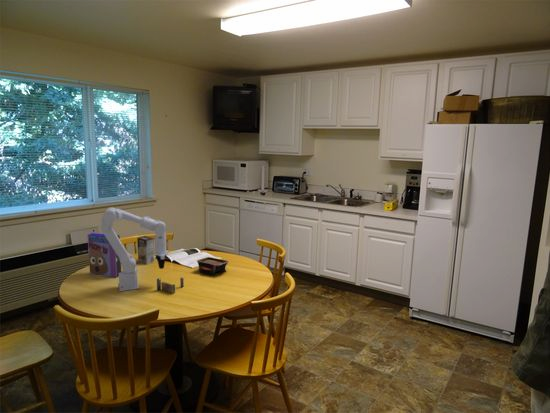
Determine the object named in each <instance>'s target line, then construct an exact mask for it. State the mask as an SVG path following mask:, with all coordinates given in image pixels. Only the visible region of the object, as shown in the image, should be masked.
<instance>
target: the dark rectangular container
mask: <svg viewBox="0 0 550 413" xmlns="http://www.w3.org/2000/svg"><path fill="white" fill-rule="evenodd" d="M196 262H197V264H198V265H197V266H198V273H199V274H202V275H209V276H212V277H213V276H215V274H216V273H217V272H227V270H226V267H227V265H228V263H229V260H227V259H221V258H216V257H210V256H205V257H202V258H199V259H197V260H196Z"/></svg>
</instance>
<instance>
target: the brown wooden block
mask: <svg viewBox="0 0 550 413" xmlns="http://www.w3.org/2000/svg"><path fill="white" fill-rule="evenodd" d="M161 291H164V292H168V293H170V294H171V293H172V294H175V293H176V284H175V283H173V284H172V283H169V282H165V281H161Z"/></svg>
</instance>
